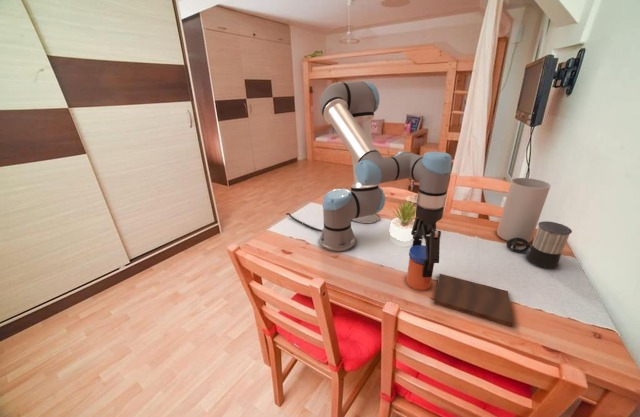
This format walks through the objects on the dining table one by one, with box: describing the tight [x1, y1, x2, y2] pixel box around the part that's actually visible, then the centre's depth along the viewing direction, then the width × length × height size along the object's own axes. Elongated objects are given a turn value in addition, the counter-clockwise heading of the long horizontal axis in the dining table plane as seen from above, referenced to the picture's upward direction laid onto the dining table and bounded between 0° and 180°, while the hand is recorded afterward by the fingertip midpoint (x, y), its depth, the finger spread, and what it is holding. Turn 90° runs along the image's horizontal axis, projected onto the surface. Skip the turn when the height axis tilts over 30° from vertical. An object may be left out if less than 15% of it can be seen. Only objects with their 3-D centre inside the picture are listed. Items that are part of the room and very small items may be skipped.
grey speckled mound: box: [351, 213, 380, 224], centre depth 138 cm, size 16×25×7 cm, turn 47°
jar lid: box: [408, 244, 427, 264], centre depth 85 cm, size 8×8×2 cm
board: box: [434, 273, 514, 327], centre depth 82 cm, size 20×14×2 cm
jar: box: [406, 256, 435, 291], centre depth 88 cm, size 8×8×12 cm
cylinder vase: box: [496, 177, 551, 245], centre depth 109 cm, size 12×12×25 cm
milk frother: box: [505, 220, 573, 270], centre depth 98 cm, size 14×16×15 cm
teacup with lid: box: [404, 193, 418, 207], centre depth 136 cm, size 12×9×12 cm
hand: (420, 265), depth 87 cm, fingers open, 10 cm apart
